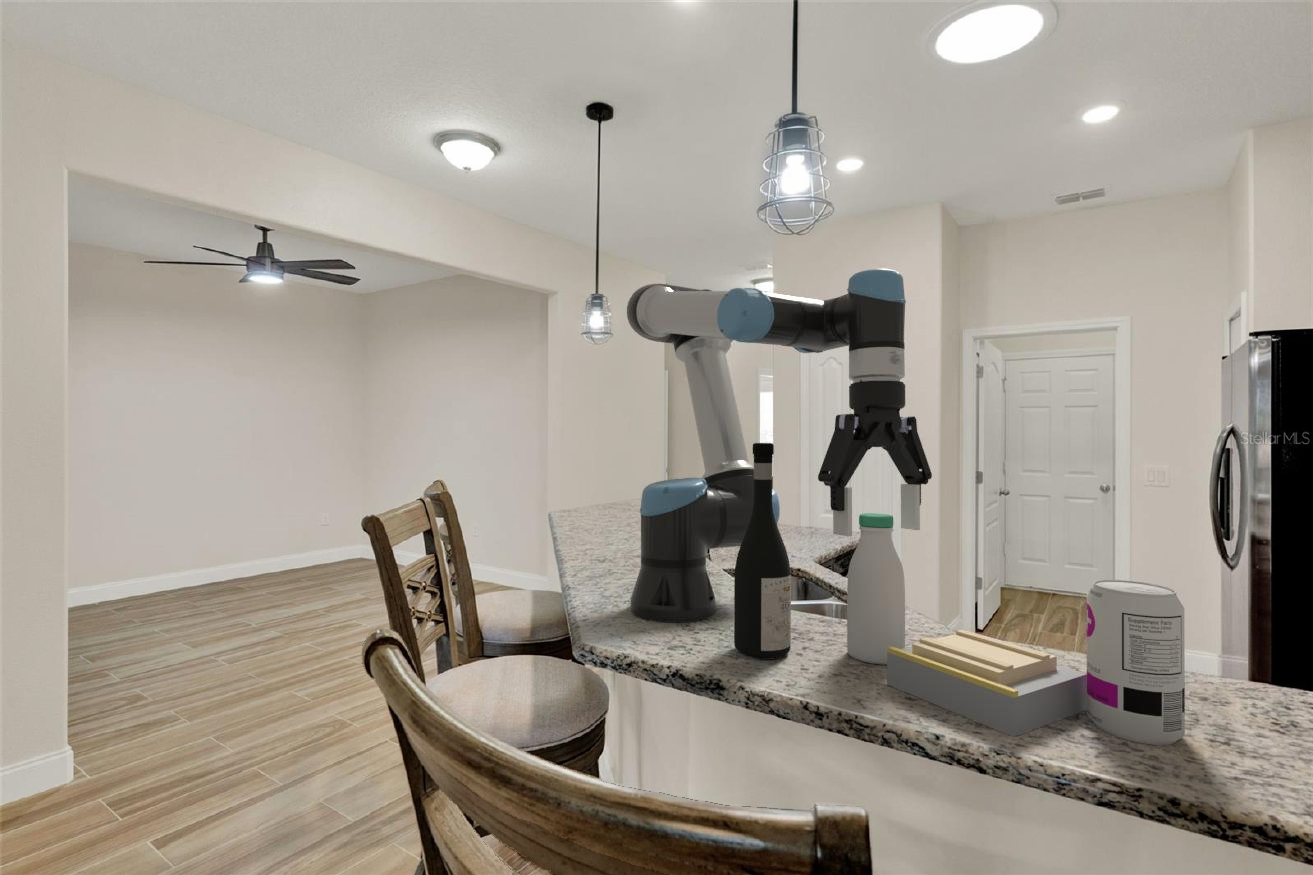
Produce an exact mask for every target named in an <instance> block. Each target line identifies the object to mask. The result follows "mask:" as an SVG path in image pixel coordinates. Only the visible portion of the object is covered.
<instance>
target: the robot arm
mask: <svg viewBox="0 0 1313 875" xmlns="http://www.w3.org/2000/svg"><path fill="white" fill-rule="evenodd" d="M904 286H905V285H904V277H903V275H902V274H901V273H900V272H899V271H896V270H895V269H894V270H893V269H889V268H872V269H866V270H861V271H859V272H855V273H854V274H853V275H852V276H850V277H849V278H848V286H847V288H846V291H847V294H844V295H841V296H837V297H834V298H830V299H816V298H811V297H804V296H798V295H797V296H796V295H791V294H788V295H787V294H783V293H777V292H772V291H764V290H760V289H759V288H751V287H744V288H742V287H735V288H732V289H729V290H711V289H708V288H707V289H698V288H697V289H696V288H692V287H687V286H686V287H684V286H678V285H672V284H668V283H667V284H666V283H651V284H647V285H644V286H641V287H639V288H638V289H636V290H635V291H634V292H633V293H632V295H631V296H630V298H629V300H628V301H627V306H626V317H627V321H628V324H629V325H630V328H631V329H632V330H633V331H634V332H635V333H636V334H638V336H641V337H642V338H644V339H646V340H649V341H653V342H657V343H659V342H660V343H666V344H672V345H673V349H674V354H675V356H676V357H675V358H677V360H679V362H683V363H684V367H685V368H684V369H685V372H686V377H687V382H688V387H689V392H690V393H689V394H690V398H691V403H692V407H693V408H692V409H693V414H694V419H695V423H696V424H695V425H696V430H697V436H698V439H699V440H698V441H699V445H700V452H701V456H702V460H703V466H704V473H703V474H702V476H701V477H683V478H682V477H681V478H671V479H665V480H659V481H656V482H652V483H649V484H648V485H646V486H645V487H644V489H643V490H642V493H641V501H640V502H641V503H640V509H639V512H640V567H639V572H638V575H637V577H636V581H635V584H634V586H633V590H632V593H631V596H630V612H631V614H632V615H634V616H636V617H639V618H642V619H644V620H650V621H656V622H663V623H664V622H667V623H685V622H693V621H702V620H705V619H708V618H711V617H713V616H714V615H715V614H716V605H717V604H716V600H717V599H716V597H715V593H714V590H713V587H712V584H711V580H710V577H709V574H708V570H707V549H708V550H709V549H710V550H713V549H723V548H725V549H726V548H734V547H740V546H741V543H742V541H743V538H744V536H745V533H746V531H747V528H748V525H749V523H750V519H751V516H752V511H753V504H754V465H752V464H751V463H750V462H749V457H748V452H747V448H746V444H745V439H744V435H743V434H744V433H743V429H742V424H741V420H740V416H739V410H738V407H737V406H738V405H737V402H736V398H735V397H736V396H735V393H734V392H735V391H734V388H733V384H732V382H733V381H732V378H731V374H730V369H729V365H728V360H727V353H728V352H729V350H730V349H731V348H732V342H733V341H735V342H737V343H746V344H764V345H771V346H772V345H773V346H782V347H789V348H794V349H795V350H796V351H797V352H798V353H802V354H811V353H815V354H819V353H824V352H826V351H829V350H835V349H839V348H844V347H848V379H849V380H850V381H852V383H851V384H850V385H849V386H848V400H849V401H848V406H849V408H850V410H853V413H844V414H843V413H842V414H836V416H835V421H834V422H835V423H834V432H833V434H832V436H831V438H830V439H831V440H830V442H829V444H828V448H827V450H826V453H825V456H824V458H823V461H822V464H821V467H820V470H819V472H818V475H817V480H818V481H819V482H820V483H821V482H822V483H823V484H824V486H825V487H829V489H830V492H829V493H830V499H829V502H830V510H831V511H833V513H832V518H833V520H832V523H833V524H832V529H833V531H832V532H833V533H832V534H833V535H837V536H844V537H852V536H853V487H852V486H851V487H850V486H847V485H848V484H849V482H850V481H851V479H852V477H853V476H854V473H855V471H856V470H857V469H858V467H859V465H860V463H861V462H862V460H863V459H864V457H865V455H866V453H867V452H868V451H869V450H871V449H872V448H882V449H883V450H884V451H886V452H887V453H888V455H889V458H890V459H891V460H892V462H893V464H894V465H895V467H896V469H897V471H898V472H899V474H900V476H901V477H902V480H904V483H901V484H900V529H906V530H911V531H912V530H913V531H921V512H920V511H921V505H922V485H927V484H928V483H929V480H931V479H932V477H933V473H932V471H931V468H930V465H929V462H928V458H927V456H926V453H925V450H924V447H923V443H922V440H921V438H920V435H919V433H918V432H919V431H918V424H917V423H918V422H917V418H916V417H915V416H913V415H912V416H901V413H900V411H901V410H902V409H904V408H905V406H906V384H905V383H904V382H903V381H901V380H902V379H904V378H905V376H906V375H905V374H906V371H905V370H906V369H905V368H906V367H905V365H906V364H905V346H906V345H905V324H906V323H905V320H906V319H905V318H906V315H905V314H906V313H905V312H906V303H907V302H906V301H907V300H906V298H905V287H904ZM772 505H773V513H774V517H775V521H776V524H777V525H778V524H779V520H780V513H781V512H780V510H781V508H780V506H781V505H780V501H779V496H778V494H777V492H776V490H775V489H774V488H772Z"/></svg>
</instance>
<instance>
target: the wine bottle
mask: <svg viewBox="0 0 1313 875" xmlns="http://www.w3.org/2000/svg"><path fill="white" fill-rule="evenodd" d="M774 448H775V444H774V443H772V442H754V443H753V444H752V455H753V466H754V504H753V511H752V516H751V519H750V523H749V525H748V528H747V531H746V533H745V536H744V538H743V541H742V543H741V546H739V549H738V552H737V555H736V561H735V568H734V583H733V584H734V586H733V587H734V595H733V596H734V597H733V598H734V600H733V602H734V605H733V606H734V608H733V609H734V610H733V611H734V614H733V616H734V618H733V620H734V621H733V623H734V624H733V630H734V631H733V632H734V633H733V637H734V638H733V639H734V641H733V643H734V647H735V649H736V650H737V651H738V653H739V654H741V655H743V656H746V657H749V658H752V659H758V660H772V659H773V660H775V659H779V658H782V657H784V656H786V655H787V654H788V653H789V652H791V644H792V643H791V642H792V640H791V639H792V635H791V633H792V628H791V627H792V626H791V624H792V620H791V619H792V617H791V614H792V609H791V608H792V602H791V601H792V572H791V571H792V570H791V566H790V565H791V564H790V560H789V556H788V552H787V548H786V545H785V543H784V539H783V538H782V535H781V532H780V530H779V527H778V524H776V521H775V517H774V513H773V505H772V489H773V461H774V460H773V458H774V455H775V453H774V452H775V449H774Z"/></svg>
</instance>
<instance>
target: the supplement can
mask: <svg viewBox="0 0 1313 875" xmlns="http://www.w3.org/2000/svg"><path fill="white" fill-rule="evenodd" d="M1185 650H1186V649H1185V607H1184V605H1183V603H1182V602H1181V601H1180V599H1179V597H1178V596H1177V591H1176V590H1175V589H1173V588H1170V587H1168V586H1164V585H1159V584H1154V583H1149V582H1143V581H1135V580H1125V579H1124V580H1122V579H1099V580H1094V581H1093V584H1092V586H1091V587H1090V589H1089V591H1088V592H1087V594H1086V674H1087V710H1086V715H1087V717H1088V718H1089V719H1090V720H1091V721H1092V722H1093V724H1094V725H1095V726H1096V727H1097V728H1098V729H1100V730H1102V731H1103V732H1105V733H1107V734H1110V735H1113V736H1115V737H1117V738H1120V739H1124V740H1127V741H1131V742H1135V743H1139V744H1146V745H1152V746H1153V745H1154V746H1155V745H1156V746H1158V745H1159V746H1168V745H1171V744H1175V743H1176V742H1177V741H1179V740H1181V739H1182V738H1183V737H1185V734H1186V732H1185V731H1186V730H1185V728H1186V727H1185V726H1186V724H1185V722H1186V720H1185V719H1186V715H1185V714H1186V713H1185V712H1186V711H1185V710H1186V708H1185V707H1186V705H1185V704H1186V701H1185V700H1186V699H1185V698H1186V696H1185V695H1186V694H1185V692H1186V691H1185V684H1186V683H1185V682H1186V681H1185V679H1186V678H1185V670H1186V669H1185V654H1186V653H1185Z"/></svg>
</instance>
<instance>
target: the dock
mask: <svg viewBox="0 0 1313 875" xmlns="http://www.w3.org/2000/svg"><path fill="white" fill-rule="evenodd" d="M886 685H888V686H890V687H893V688H895V689H898V690H900V691H902V692H905V693H907V694H909V695H912V696H914V697H917V698H919V699H921V700H923V701H926V702H929V703H930V704H933V705H936V706H938V707H941V708H943V709H946V710H947V711H950V712H953V713H955V714H957V715H959V716H962V717H965V718H967V719H969V720H971V719H972V720H971V721H974V720H975V721H974V722H976V721H977V723H978V724H981V723H982V725H983V724H984V726H986V727H989V728H991V729H993V730H996V731H998V732H1000V733H1003V734H1006V735H1008V736H1009V737H1013V738H1014V737H1017V736H1020V735H1023V734H1026V733H1028V732H1030V731H1034V730H1037V729H1039V728H1043V727H1045V726H1047V725H1050V724H1053V723H1055V722H1058V721H1061V720H1063V719H1066V718H1068V717H1071V716H1074V715H1077V714H1080V713H1082V712H1084V711H1087V673H1085V672H1083V671H1082V672H1081V671H1078V670H1074V669H1071V668H1067V667H1064V666H1061V665H1058V658H1057V655H1053V654H1049V653H1046V652H1042V651H1040V650H1035V649H1032V648H1029V647H1025V646H1023V645H1019V644H1015V643H1011V642H1007V641H1004V640H1000V639H996V638H995V637H990V636H986V635H983V634H979V633H977V632H973V631H967V630H966V629H965V630H964V629H959V630H956V631H955V634H950V635H947V636H942V637H937V638H933V639H932V638H929V637H922V638H919V641H918V642H915V643H912V644H911V646H909V647H905V648H903V649H898V648H895V647H892V646H891V647H887V664H886Z"/></svg>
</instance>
